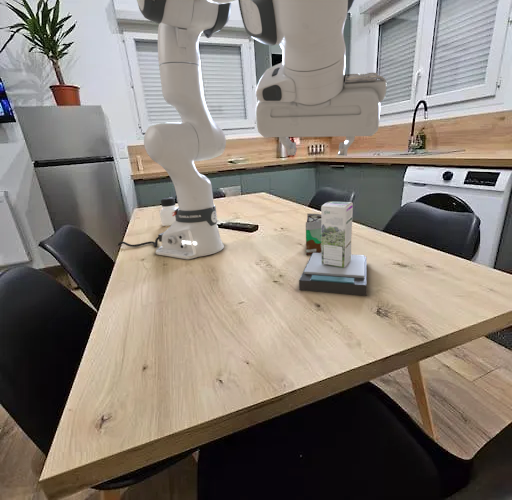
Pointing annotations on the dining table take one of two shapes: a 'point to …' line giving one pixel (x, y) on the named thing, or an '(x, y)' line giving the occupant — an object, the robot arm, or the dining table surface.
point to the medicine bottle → (168, 211)
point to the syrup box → (336, 233)
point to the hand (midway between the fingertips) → (316, 153)
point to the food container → (313, 234)
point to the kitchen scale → (335, 276)
